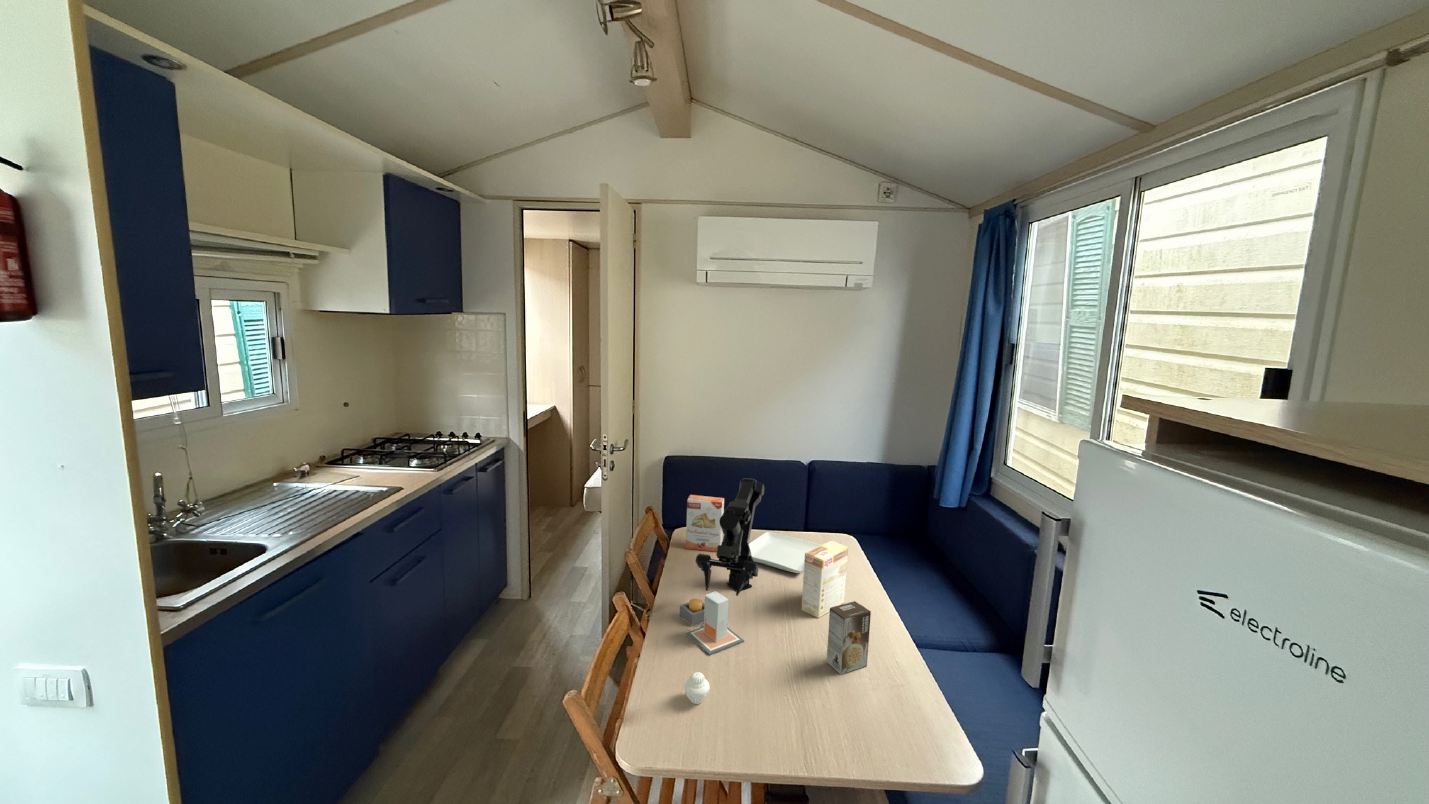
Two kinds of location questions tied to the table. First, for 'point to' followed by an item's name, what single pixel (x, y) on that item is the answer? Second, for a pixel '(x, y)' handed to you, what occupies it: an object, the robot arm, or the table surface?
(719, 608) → the skincare box
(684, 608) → the button housing
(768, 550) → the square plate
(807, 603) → the coffeecake box
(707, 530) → the cracker box
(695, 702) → the white lidded jar
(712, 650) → the picture board
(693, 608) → the button
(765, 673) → the table surface
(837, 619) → the coffee box
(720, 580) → the table surface
